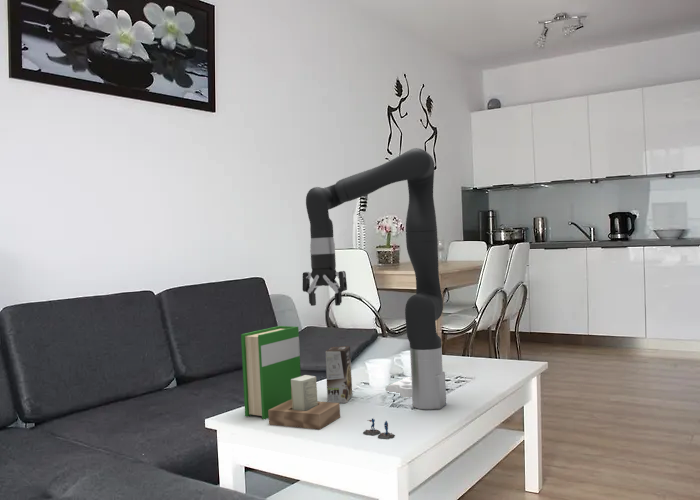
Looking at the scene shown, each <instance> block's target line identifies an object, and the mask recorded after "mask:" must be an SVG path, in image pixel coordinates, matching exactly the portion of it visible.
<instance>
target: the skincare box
mask: <svg viewBox="0 0 700 500" xmlns="http://www.w3.org/2000/svg"><path fill="white" fill-rule="evenodd" d="M317 384H318V383H317V376H315V375H310V374H303V375H301V376H300V377H297V378H294V379H291V394H292V410H300V411H308V410H310V409H311V408H313V407H315V406H317V405H318V403H317V401H318V390H317V389H318V385H317Z"/></svg>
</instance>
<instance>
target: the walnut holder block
mask: <svg viewBox="0 0 700 500" xmlns="http://www.w3.org/2000/svg"><path fill="white" fill-rule="evenodd" d="M317 403H318V405H317V406H315V407H313V408H311V409H310V410H308V411H300V410H292V399H291V400H288V401H286V402H284V403H282V404H280V405H278V406H276V407H274V408H272V409H269V410H268V415H269V418H268V425H269V424H270V425H271V426H280V427H291V428H302V429H308V430H309V429H310V430H321V429H323V428H325V427H327V426H329V425H330V424H332V423H333V422H335V421H336V420H338V419H340V418H341V405H340V404H341V403H332V402H327V401H318V400H317Z"/></svg>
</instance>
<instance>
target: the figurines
mask: <svg viewBox="0 0 700 500" xmlns="http://www.w3.org/2000/svg"><path fill="white" fill-rule="evenodd" d="M366 421H369V422H370V423H371V425H370V427H371V428H369V429H365V430H363V432H362V433H363V435H366V436H375V435H377V438H378V439H385V440H391V439H394V438H395V437H396V435H395V434H393V433H392V432H391V433H390V431H389V423H388V421H387V420H385V422H384V424H383V425H384V430H385V432H381V430H378V429H377V428H376V429H375V421H376V420H375V419H374V417H373V418H371V419H367V420H366Z"/></svg>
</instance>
